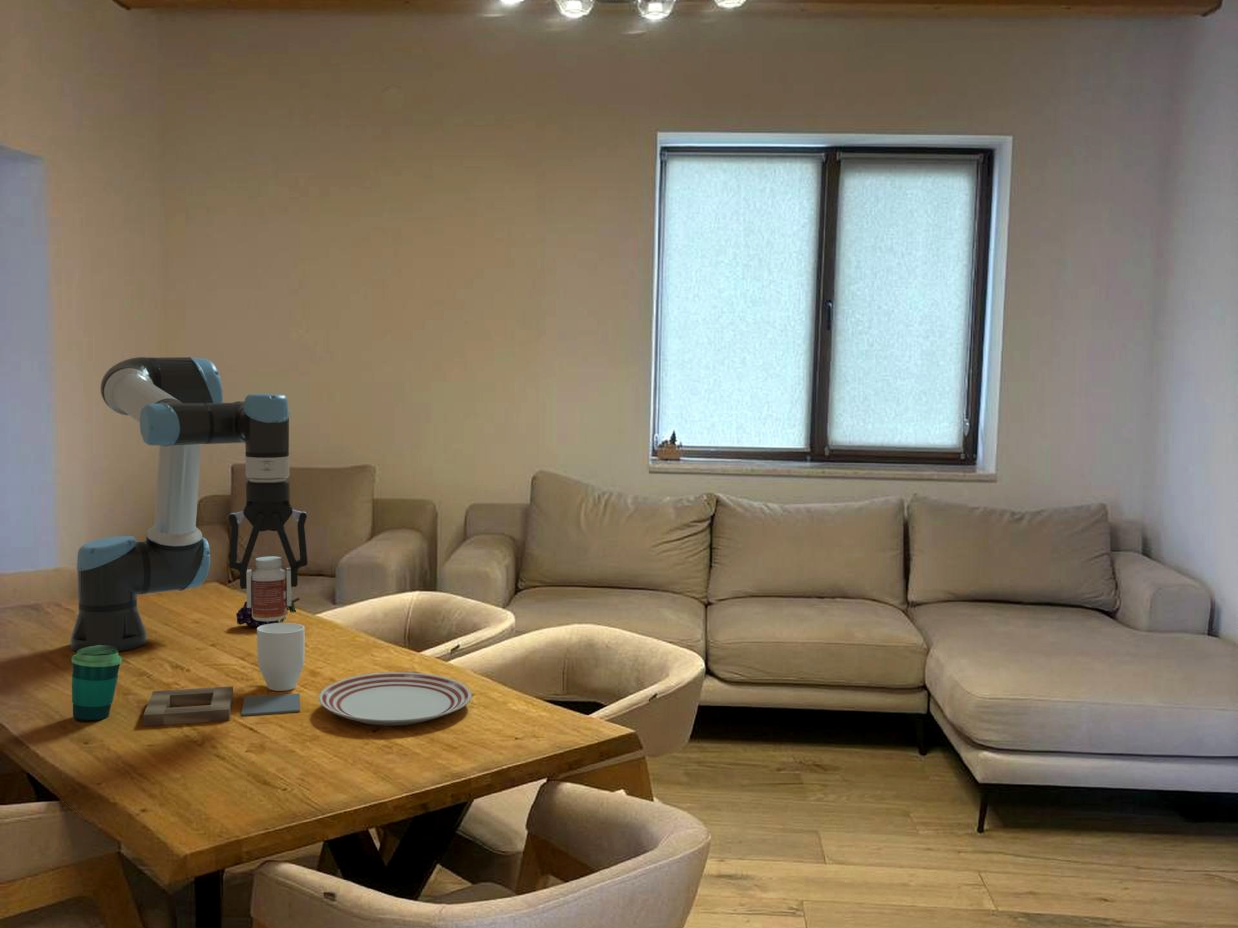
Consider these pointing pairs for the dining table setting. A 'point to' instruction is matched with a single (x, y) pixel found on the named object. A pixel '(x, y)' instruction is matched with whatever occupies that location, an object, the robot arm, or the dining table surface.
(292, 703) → the coaster
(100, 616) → the robot arm
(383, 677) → the dinner plate
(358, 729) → the dining table surface
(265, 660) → the mug
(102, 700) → the cup
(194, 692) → the collar
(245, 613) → the fruit
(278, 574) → the pill bottle
